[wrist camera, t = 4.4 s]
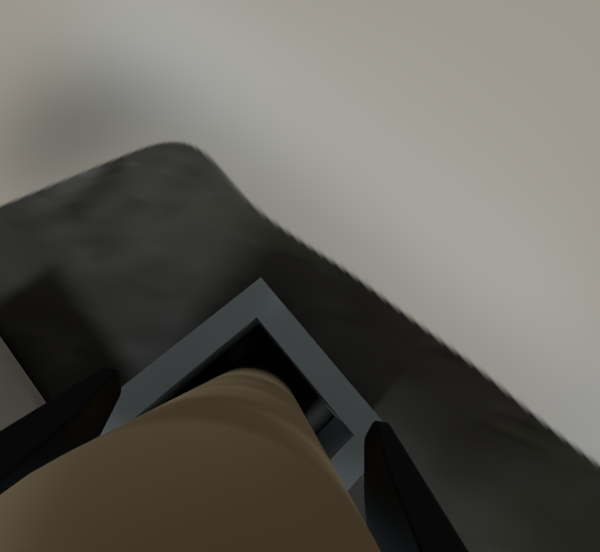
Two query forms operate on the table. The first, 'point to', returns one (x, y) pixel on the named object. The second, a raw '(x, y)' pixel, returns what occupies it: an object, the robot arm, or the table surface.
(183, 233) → the table surface
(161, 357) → the socket block
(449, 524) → the robot arm
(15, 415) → the tray
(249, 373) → the birch dowel
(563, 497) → the table surface
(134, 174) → the table surface
